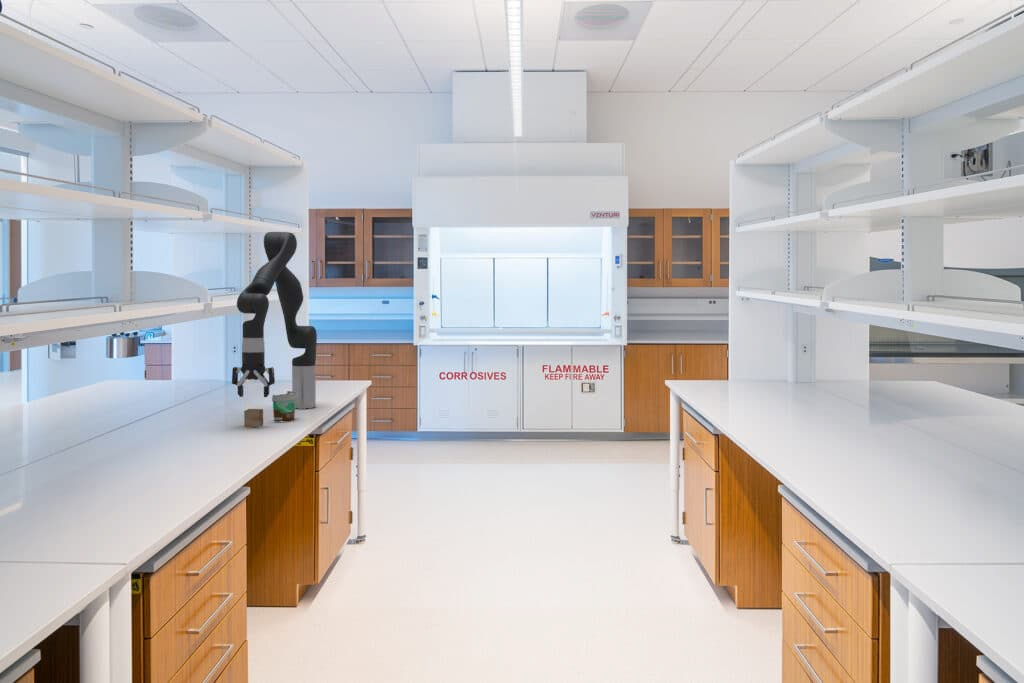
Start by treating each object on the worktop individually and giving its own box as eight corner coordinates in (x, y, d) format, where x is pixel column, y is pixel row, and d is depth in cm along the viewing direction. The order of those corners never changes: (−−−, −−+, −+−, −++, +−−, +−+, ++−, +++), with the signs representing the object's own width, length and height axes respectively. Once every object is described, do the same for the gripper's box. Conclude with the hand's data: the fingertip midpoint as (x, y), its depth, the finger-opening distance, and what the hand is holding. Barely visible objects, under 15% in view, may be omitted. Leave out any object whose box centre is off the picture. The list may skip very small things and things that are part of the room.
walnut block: (249, 425, 279) (249, 408, 279) (263, 425, 279) (263, 408, 279) (244, 428, 274) (244, 411, 274) (258, 428, 274) (258, 411, 274)
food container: (287, 423, 284) (287, 395, 283) (272, 422, 285) (271, 395, 284) (303, 417, 296) (303, 391, 295) (288, 417, 297) (288, 390, 297)
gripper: (276, 350, 278) (277, 395, 279) (236, 349, 278) (236, 395, 279) (270, 351, 271) (270, 398, 272) (228, 351, 271) (229, 397, 272)
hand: (253, 396), depth 276 cm, fingers open, 8 cm apart
